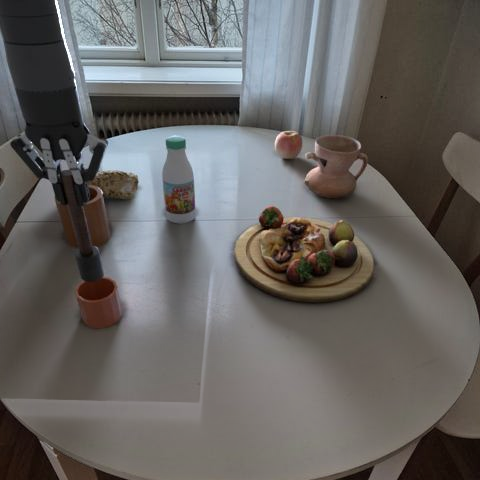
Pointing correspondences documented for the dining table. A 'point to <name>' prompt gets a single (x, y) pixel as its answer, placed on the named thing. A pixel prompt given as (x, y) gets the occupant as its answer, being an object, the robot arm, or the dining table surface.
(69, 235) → the jar
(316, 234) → the wooden plate
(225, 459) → the dining table surface
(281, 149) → the apple
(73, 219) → the brush
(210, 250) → the dining table surface
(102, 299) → the cup
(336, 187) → the ceramic jug
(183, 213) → the milk bottle
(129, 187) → the seeded bread loaf
